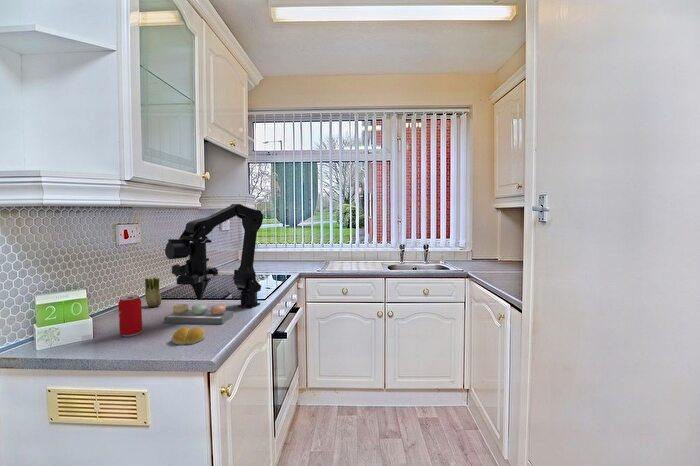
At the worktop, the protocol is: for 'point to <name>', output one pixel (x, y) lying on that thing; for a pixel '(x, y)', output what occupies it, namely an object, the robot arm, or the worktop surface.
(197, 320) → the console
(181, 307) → the ochre button
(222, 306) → the terracotta button
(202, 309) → the sage button
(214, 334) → the worktop surface
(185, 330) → the bread roll
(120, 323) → the beverage can
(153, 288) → the fennel bulb
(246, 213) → the robot arm
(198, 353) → the worktop surface
